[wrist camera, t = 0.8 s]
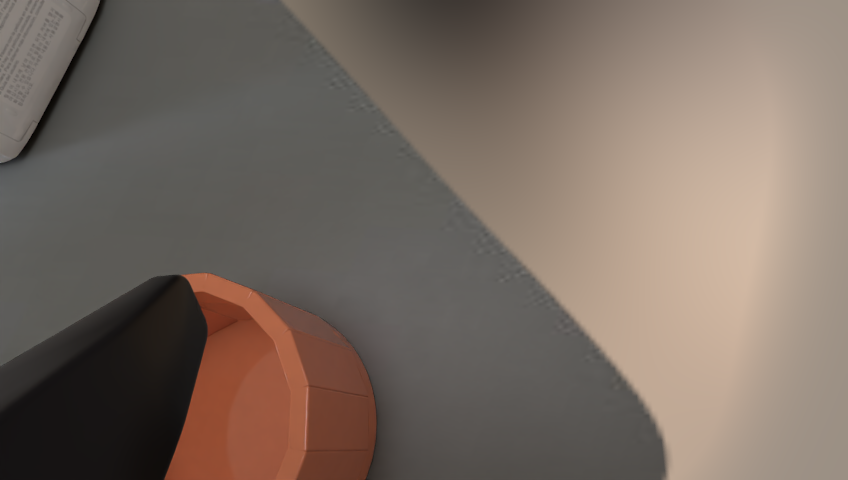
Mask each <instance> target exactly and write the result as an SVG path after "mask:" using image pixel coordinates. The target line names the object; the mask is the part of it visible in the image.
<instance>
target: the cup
mask: <svg viewBox="0 0 848 480" xmlns="http://www.w3.org/2000/svg"><path fill="white" fill-rule="evenodd" d="M182 276H184V277H185V278H186V279H187V280H188V281H189V283H190V285H191V287H192V289H193V291H194V294H195V296H196V298H197V300H198V303H199V305H200V307H201V310H202V312H203V314H204V316H205V319H206V322H207V326H208V337H207V341H206V345H205V349H204V353H203V357H202V360H201V364H200V368H199V372H198V376H197V379H196V383H195V387H194V391H193V394H192V398H191V402H190V406H189V410H188V413H187V417H186V420H185V424H184V427H183V430H182V433H181V436H180V439H179V442H178V445H177V448H176V450H175V453H174V455H173V458H172V461H171V463H170V466H169V469H168V471H167V474H166V476H165V479H164V480H365V479H366V477H367V474H368V471H369V468H370V465H371V462H372V458H373V453H374V447H375V442H376V428H377V420H376V405H375V400H374V394H373V389H372V386H371V383H370V380H369V376H368V374H367V372H366V369H365V367H364V365H363V363H362V361H361V359H360V357H359V356H358V354H357V353H356V351H355V349H354V348H353V347H352V345H351V344H350V343H349V342H348V341H347V339H346V338H345V337H344V336H343V335H342V334H341V333H340V332H338V331H337V330H336V329H335V328H334V327H333V326H331V325H330V324H328V323H327V322H325V321H324V320H322V319H321V318H319V317H318V316H316V315H314V314H311V313H309V312H307V311H304V310H302V309H299V308H297V307H294V306H292V305H290V304H287V303H285V302H282V301H280V300H277V299H275V298H273V297H270V296H268V295H265V294H263V293H261V292H258V291H256V290H253V289H251V288H248V287H245V286H243V285H240V284H238V283H235V282H232V281H230V280H227V279H224V278H222V277H219V276H216V275H214V274H211V273H197V274H186V275H182Z"/></svg>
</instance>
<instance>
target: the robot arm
mask: <svg viewBox="0 0 848 480" xmlns="http://www.w3.org/2000/svg"><path fill="white" fill-rule="evenodd" d="M207 337H208V326H207V322H206V319H205V316H204V314H203V312H202V310H201V307H200V305H199V303H198V300H197V298H196V296H195V294H194V291H193V289H192V287H191V285H190V283H189V281H188V280H187V279H186V278H185V277H184V276H182V275H167V276H157V277H153V278H151V279H149V280H148V281H146V282H144V283H143V284H141V285H139V286H137V287H136V288H134V289H132V290H131V291H129V292H127V293H125V294H124V295H122V296H120V297H119V298H117V299H115V300H113V301H112V302H110V303H108V304H107V305H105V306H103V307H101V308H100V309H98V310H96V311H95V312H93V313H91V314H90V315H88V316H86V317H84V318H83V319H81V320H79V321H78V322H76V323H74V324H72V325H71V326H69V327H67V328H66V329H64V330H62V331H60V332H59V333H57V334H55V335H54V336H52V337H50V338H48V339H47V340H45V341H43V342H42V343H40V344H38V345H36V346H35V347H33V348H31V349H30V350H28V351H26V352H24V353H23V354H21V355H19V356H18V357H16V358H14V359H13V360H11V361H9V362H7V363H6V364H4V365H2V366H1V367H0V480H164V479H165V476H166V474H167V471H168V469H169V466H170V463H171V461H172V458H173V455H174V453H175V450H176V448H177V445H178V442H179V439H180V436H181V433H182V430H183V427H184V424H185V420H186V417H187V413H188V410H189V406H190V402H191V398H192V394H193V391H194V387H195V383H196V379H197V376H198V372H199V368H200V364H201V360H202V357H203V353H204V349H205V345H206V341H207Z"/></svg>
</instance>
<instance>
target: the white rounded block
mask: <svg viewBox="0 0 848 480" xmlns="http://www.w3.org/2000/svg"><path fill="white" fill-rule="evenodd" d="M99 3H100V0H0V163H3V162H7V161H10V160H11V159H13V158H15V157H17V156H18V154H19V153H20V152H21V151H22V149H23V148H24V146H25V145H26V143H27V142H28V140H29V139H30V137H31V135H32V133H33V132H34V130H35V128H36V127H37V124H38V122H39V121H40V119H41V117H42V115H43V113H44V111H45V110H46V108H47V106H48V104H49V102H50V100H51V98H52V96H53V94H54V93H55V91H56V89H57V87H58V85H59V83H60V81H61V79H62V77H63V76H64V74H65V72H66V70H67V68H68V66H69V64H70V62H71V60H72V58H73V56H74V54H75V52H76V51H77V49H78V47H79V45H80V43H81V41H82V40H83V38H84V36H85V34H86V32H87V30H88V28H89V26H90V24H91V21H92V19H93V17H94V15H95V13H96V10H97V8H98V5H99Z"/></svg>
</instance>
